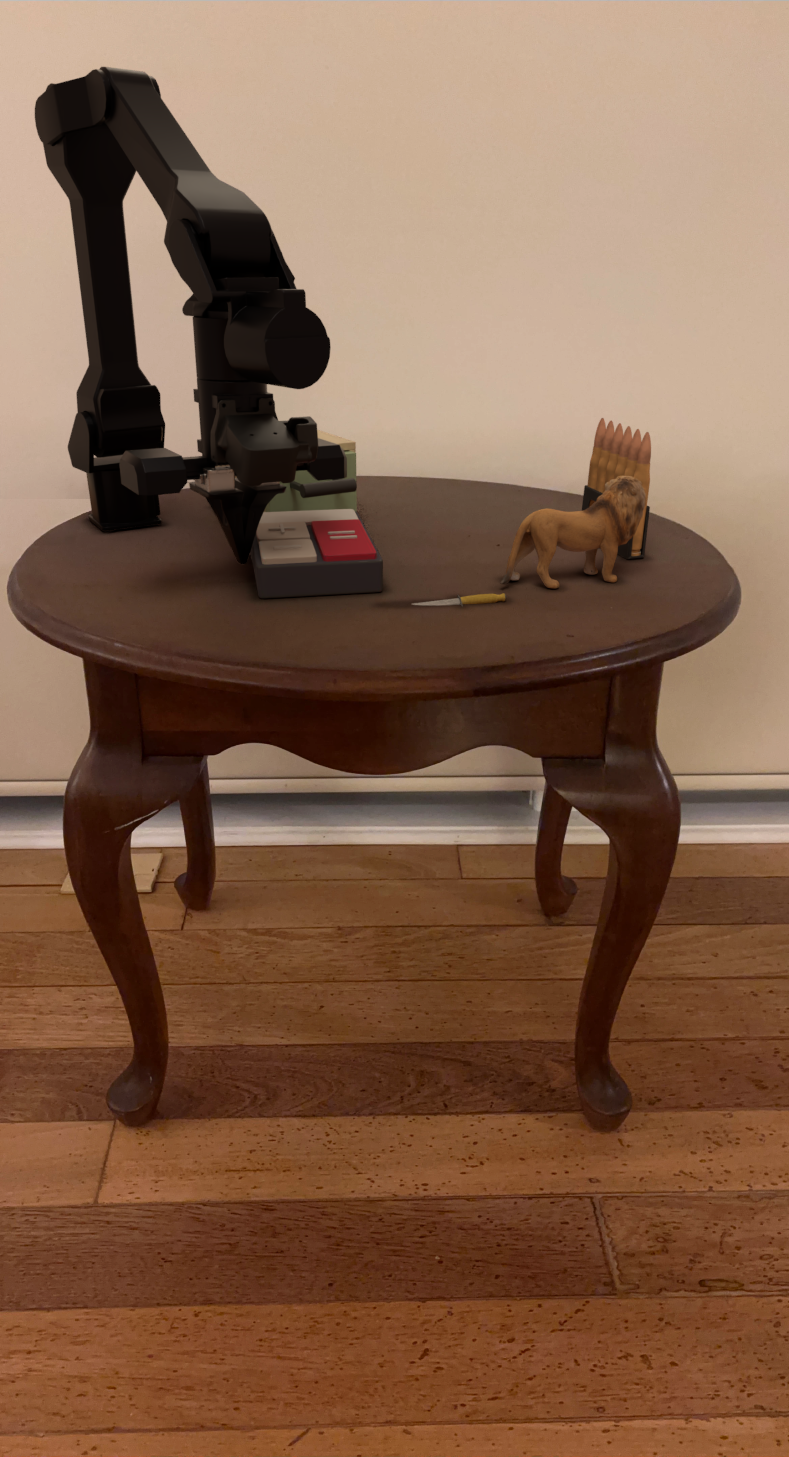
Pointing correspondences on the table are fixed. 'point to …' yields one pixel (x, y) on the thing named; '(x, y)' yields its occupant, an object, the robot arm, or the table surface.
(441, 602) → the dagger
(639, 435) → the ammunition clip
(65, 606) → the table surface
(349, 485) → the drawer
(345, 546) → the calculator
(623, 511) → the lion figurine
